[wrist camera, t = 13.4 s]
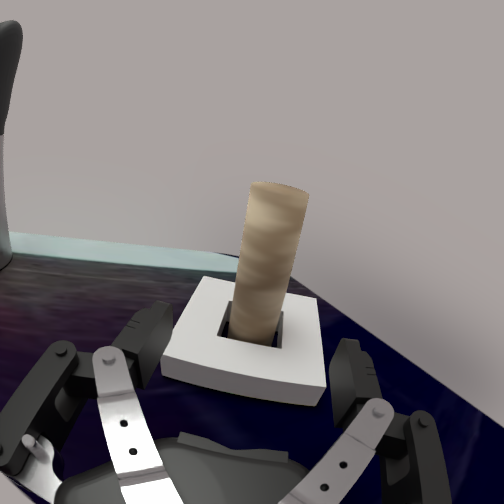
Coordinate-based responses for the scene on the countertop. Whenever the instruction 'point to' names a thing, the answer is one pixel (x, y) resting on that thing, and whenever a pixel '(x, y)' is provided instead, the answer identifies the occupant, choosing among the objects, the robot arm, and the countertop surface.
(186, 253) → the countertop surface
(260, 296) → the peg
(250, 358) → the socket plate
